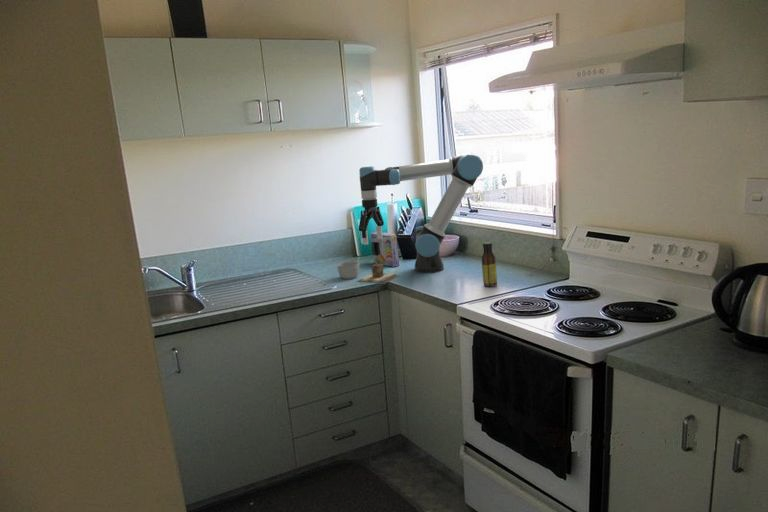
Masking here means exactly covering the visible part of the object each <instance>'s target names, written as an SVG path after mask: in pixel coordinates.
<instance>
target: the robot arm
mask: <svg viewBox="0 0 768 512" xmlns="http://www.w3.org/2000/svg"><path fill="white" fill-rule="evenodd" d="M483 169H484V165H483V160H482V159H481V158H480V156H478V155H477V154H475V153H472V152H466V153H462V154H460V155H456V156H451V157H450V158H447V159H442V160H441V159H440V160H435V161H428V162H420V163H414V164H407V165H406V164H405V165H399V166H389V167H385V169H380V170H379V169H375V166H362V167H360V168H359V182H360V183H359V184H360V185H359V186H360V194H361V199H362V200H361V206H362V208H364V210H360V219H359V225H358V231H359V232H361V237H362V238H361V239H362V244H363V245H365V246H367V245H369V237H368V235H369V234H368V230H367V229H368V226H369V223H370V220H371V219H372V220H373V222H375V224H376V226H375V229H376V231H375V232H377V239H383V238H382V232H383V226H384V225H385V224H384V223H385V222H384V221H385V220H384V219H383V216H382V213H381V210H380V206H378V199H377V197H378V192H377V187H379V186H381V187H382V186H383V187H384V186H395V185H399V184H401V182H405V181H406V182H407V181H412V180H420V179H421V180H422V179H427V178H428V179H429V178H434V177H435V178H436V177H444V176H451V179H452V180H451V181H450V183H449V185H448V187H447V188H446V190H445V192H444V194H443V196H442V198H441V199H440V201H439V203H438V205H437V207H436V209H435V210H434V212H433V214H432V217H431V218H430V220H429V221H428V223H425V224H424V225H421V226H416V227H415V232H414V233H415V242H414V246H415V250H416V258H415V259H416V260H415V262H414V271H415V272H417V273H425V274H426V273H438V272H442V271H443V270H444V269H445V268H444V263H443V259H442V257H441V255H440V252H441V251H440V249H441V245H442V243H443V241H444V239H445V237H446V234H445V231H446V229H447V227H448V225H449V224H450V221H451V220H452V219H453V217H454V214H455V213H456V211H457V209H458V208H459V206H460V204H461V201H462V200H463V197H464V196H465V194H466V193H467V191H468V189H469V188H471V187H473V186H474V184H475V183H476V181H477V179H478V178H479V177H480V176H481V175H482V173H483Z"/></svg>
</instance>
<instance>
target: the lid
mask: <svg viewBox="0 0 768 512" xmlns="http://www.w3.org/2000/svg"><path fill="white" fill-rule="evenodd" d="M371 271H372V273H370V274H367V275H366V276H364V277H362V278H360V279H359V280H360V281H367V282H381V283H384V282H386V281H388V280H389V279H391V278H393V277H395V276H396V273H384V265H383V264H376V263H374V264H373V265H371ZM367 282H366V283H367ZM381 283H380V284H381Z"/></svg>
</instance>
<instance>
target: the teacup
mask: <svg viewBox="0 0 768 512" xmlns="http://www.w3.org/2000/svg"><path fill="white" fill-rule="evenodd" d="M359 265H360V264H359V261H358V260H345V261H341V262H340V263H338V264H337V270H338V274H339V277H340V278H341V279H343V280H353V279H355V278H357V277H358V276H359V274H360V266H359Z"/></svg>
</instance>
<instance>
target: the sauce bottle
mask: <svg viewBox="0 0 768 512" xmlns="http://www.w3.org/2000/svg"><path fill="white" fill-rule="evenodd" d="M482 248H483V254H482V255H481V269H482V282H483V286H484V287H486V286H494V287H496V286H497V285H498V274H497V262H496V256H495V254H494V252H493V242H491V241H485V242H482ZM495 285H496V286H495Z"/></svg>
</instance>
